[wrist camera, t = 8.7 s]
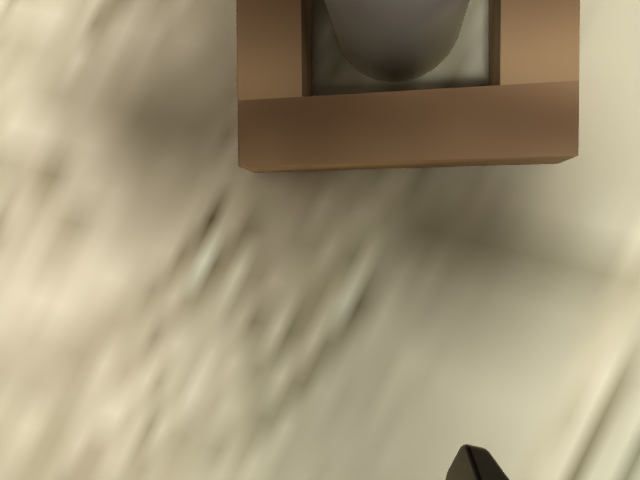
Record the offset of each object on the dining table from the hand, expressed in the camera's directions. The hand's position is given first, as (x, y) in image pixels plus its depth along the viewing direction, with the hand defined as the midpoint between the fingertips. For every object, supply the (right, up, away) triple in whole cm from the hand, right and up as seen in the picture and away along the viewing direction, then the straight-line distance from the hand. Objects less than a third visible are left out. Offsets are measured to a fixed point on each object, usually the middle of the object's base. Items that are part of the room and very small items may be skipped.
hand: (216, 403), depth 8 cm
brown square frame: (+5, +12, +10) cm, 16 cm away
